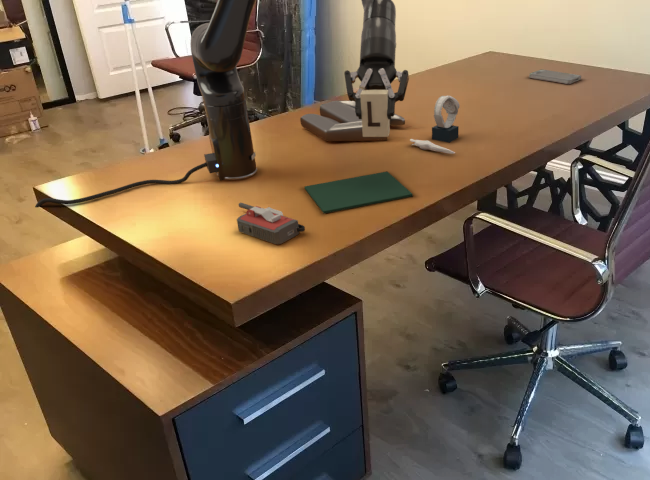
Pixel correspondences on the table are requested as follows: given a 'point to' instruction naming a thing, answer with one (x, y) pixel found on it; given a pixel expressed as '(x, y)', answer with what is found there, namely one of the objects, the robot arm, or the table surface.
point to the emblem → (341, 122)
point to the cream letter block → (375, 113)
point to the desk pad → (357, 192)
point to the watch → (446, 129)
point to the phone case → (555, 76)
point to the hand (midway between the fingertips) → (374, 117)
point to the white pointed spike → (430, 146)
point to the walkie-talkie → (268, 224)
